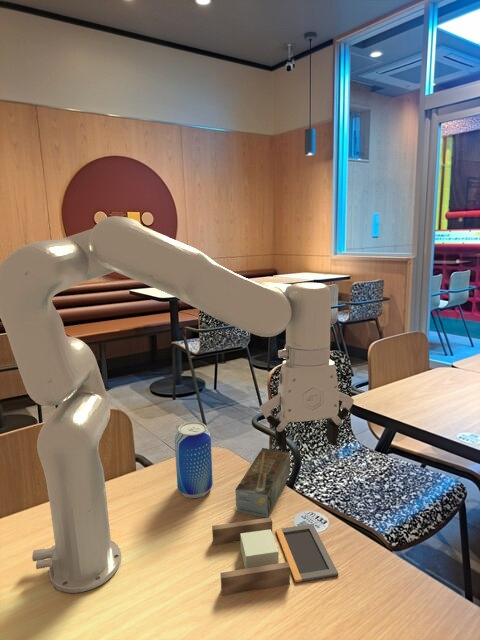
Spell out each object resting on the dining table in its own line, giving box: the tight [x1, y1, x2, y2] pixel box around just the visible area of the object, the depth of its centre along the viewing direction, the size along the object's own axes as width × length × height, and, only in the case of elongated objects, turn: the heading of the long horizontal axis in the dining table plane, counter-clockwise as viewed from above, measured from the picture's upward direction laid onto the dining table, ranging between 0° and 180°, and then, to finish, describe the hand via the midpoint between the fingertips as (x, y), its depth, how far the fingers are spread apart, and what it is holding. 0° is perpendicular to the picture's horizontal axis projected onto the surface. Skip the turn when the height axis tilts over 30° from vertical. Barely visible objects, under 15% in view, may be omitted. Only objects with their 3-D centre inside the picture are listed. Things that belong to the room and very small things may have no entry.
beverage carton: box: [235, 447, 291, 519], centre depth 103 cm, size 8×19×7 cm, turn 159°
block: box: [240, 529, 279, 569], centre depth 82 cm, size 6×6×4 cm
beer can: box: [174, 421, 214, 499], centre depth 103 cm, size 8×8×16 cm
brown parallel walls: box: [211, 517, 291, 596], centre depth 81 cm, size 12×13×4 cm
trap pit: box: [275, 523, 339, 584], centre depth 84 cm, size 8×13×1 cm, turn 10°
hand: (306, 445), depth 79 cm, fingers open, 9 cm apart
